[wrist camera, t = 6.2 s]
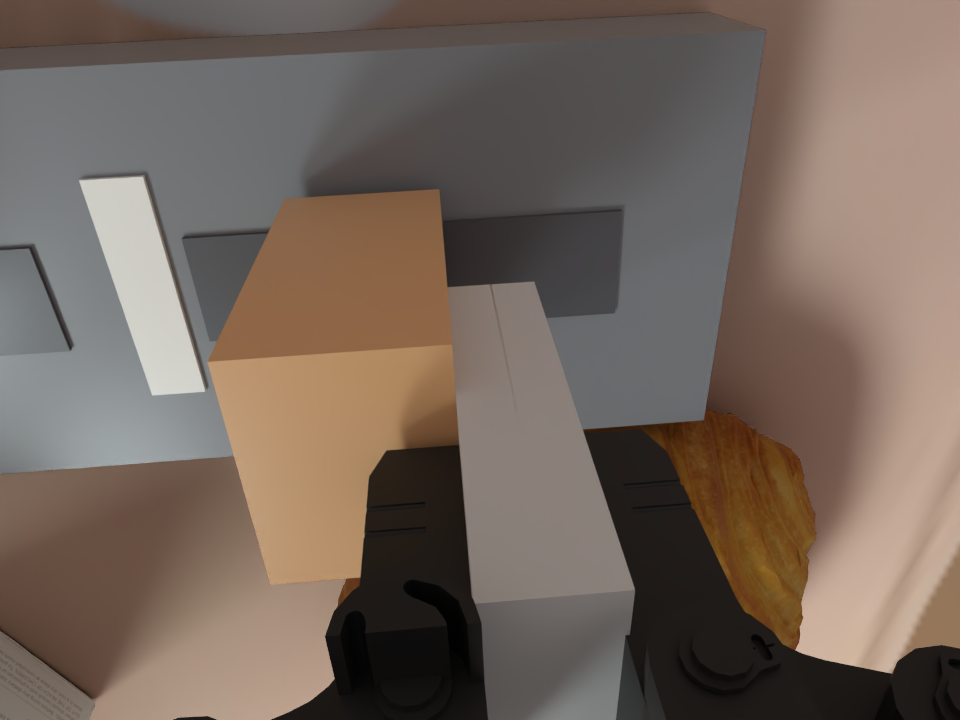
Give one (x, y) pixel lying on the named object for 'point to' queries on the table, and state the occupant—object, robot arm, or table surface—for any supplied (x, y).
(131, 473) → the table surface
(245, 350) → the block
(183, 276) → the panel
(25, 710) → the supplement box
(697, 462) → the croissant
